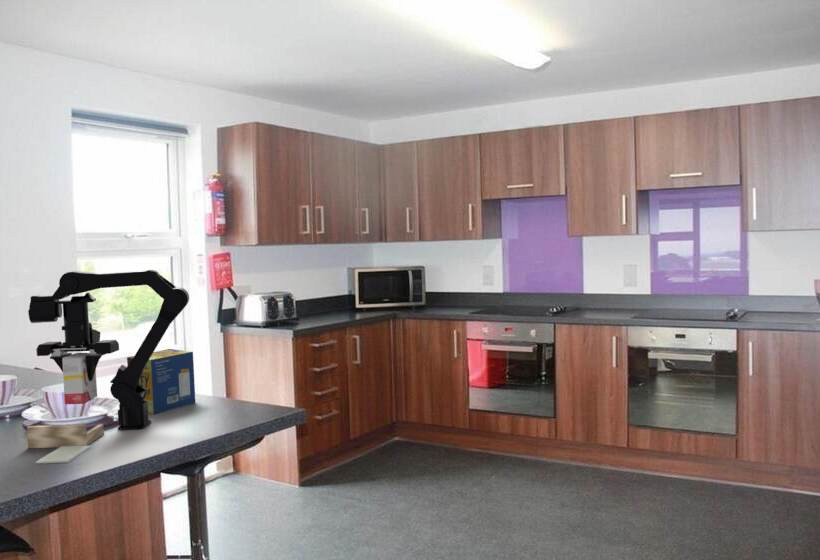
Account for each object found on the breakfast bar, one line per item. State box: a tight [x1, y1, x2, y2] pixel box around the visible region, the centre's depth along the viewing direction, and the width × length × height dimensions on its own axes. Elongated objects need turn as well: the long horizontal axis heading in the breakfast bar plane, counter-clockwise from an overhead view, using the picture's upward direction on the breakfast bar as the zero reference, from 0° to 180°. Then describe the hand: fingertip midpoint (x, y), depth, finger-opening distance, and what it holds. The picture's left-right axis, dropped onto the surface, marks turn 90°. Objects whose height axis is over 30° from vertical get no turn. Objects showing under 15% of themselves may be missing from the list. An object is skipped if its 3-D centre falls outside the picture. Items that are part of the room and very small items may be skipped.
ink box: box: [62, 352, 98, 405], centre depth 179 cm, size 9×5×12 cm, turn 0°
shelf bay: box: [26, 423, 105, 449], centre depth 172 cm, size 14×10×5 cm
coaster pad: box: [35, 445, 91, 464], centre depth 160 cm, size 7×11×1 cm, turn 0°
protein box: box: [126, 348, 196, 415], centre depth 204 cm, size 10×15×16 cm
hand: (80, 381), depth 180 cm, fingers closed on ink box, 5 cm apart
